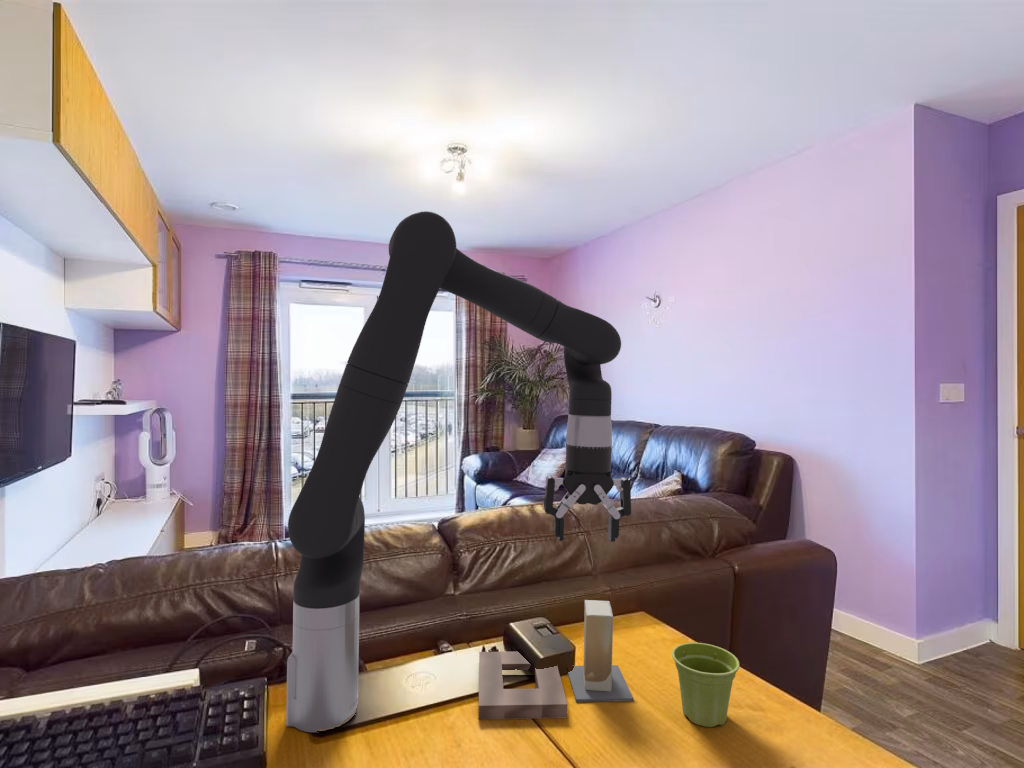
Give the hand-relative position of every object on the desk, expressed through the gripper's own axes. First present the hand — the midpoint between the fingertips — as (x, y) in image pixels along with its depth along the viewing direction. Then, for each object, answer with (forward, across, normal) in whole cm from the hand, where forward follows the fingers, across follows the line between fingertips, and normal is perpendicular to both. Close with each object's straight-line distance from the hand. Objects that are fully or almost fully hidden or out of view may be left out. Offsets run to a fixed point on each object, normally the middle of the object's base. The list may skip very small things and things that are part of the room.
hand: (586, 540), depth 90 cm
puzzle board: (+23, -11, -2) cm, 26 cm away
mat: (+23, +2, -1) cm, 23 cm away
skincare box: (+23, +2, -1) cm, 23 cm away
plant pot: (+23, +16, -10) cm, 30 cm away
